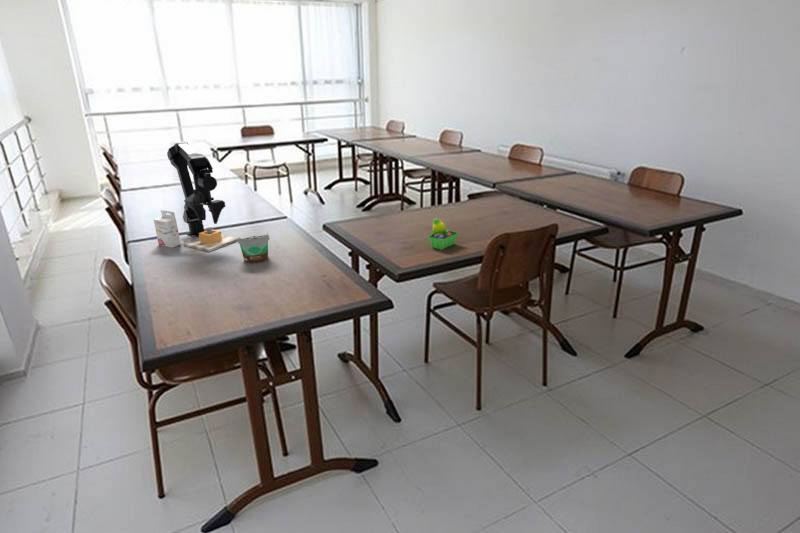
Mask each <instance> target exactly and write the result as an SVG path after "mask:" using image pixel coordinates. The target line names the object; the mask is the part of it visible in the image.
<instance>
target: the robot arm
mask: <svg viewBox="0 0 800 533" xmlns="http://www.w3.org/2000/svg"><path fill="white" fill-rule="evenodd" d="M166 155H167V158H168V160H169V161H170V164H171V165H172V166H173V167H174V168H175V169H176V171H177V174H178V179H179V181H180V184H181V189H182V193H183V195H184V201H183V202H184V206H183V209H184V210H183V214H182V219H183V222H184V223H186V224H187V225H188V231H189V232H187V233H186V235H189V236H193V237H197V236H199V233H201V232H204V231H205V228H204V222H203V221H206V218H207V215H206V214H207V211H206V209H205V207H204V206H207V207H208V211H209V212H210V213H211V216H212V221H213V223H214V225H217V224H218V221H219V219H220V215H221V213H222V210H223V209H224V208H225V207H226V202H225V201H224V200H221V199H215V198H214V197H212V193H211V192H212V191H214V190H215V189H216V188H217V187H218V182H217V181H218V180H217V179H216V178H215V177H213V176H212V175H211V174H212V173H214V172H213V166H212V164H211V162H210V160H209V159H208V157H206V156H205V155H204V154H203V153H197V152H196V151H195V150H194V149H193V148H192V147H191V146H190V144H189V143H188V142H187V141H181V142H179V141H178V142H175V143H174V145H173V146H171V147H169V148H168V149H167V153H166ZM190 173H191V174H192V177H193V182H194V185H193V182H192V179H191V175H190Z"/></svg>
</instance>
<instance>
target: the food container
mask: <svg viewBox="0 0 800 533" xmlns="http://www.w3.org/2000/svg"><path fill="white" fill-rule="evenodd" d="M237 238H238V241H237V244H238V245H239V247H240V249H241V254H242V257H243V261H244V262H245V263H248V264H258V263H262V262H266V261H267V260H268V259H269V240H270V238H271V237H270V235H269V234H268V232H267V233H266V234H264V235H263V234H262V235H253V236H248V237H246V238H240V237H237Z"/></svg>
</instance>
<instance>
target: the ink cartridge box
mask: <svg viewBox="0 0 800 533" xmlns="http://www.w3.org/2000/svg"><path fill="white" fill-rule="evenodd" d="M160 213H161V214H160V215H161V216H160V217H156V218H153V223H154V228H155V233H156V236H157V237H156V238H157V242H158V246H162V245H163V246H164V247H167V246H168V247H167V248H174V247H177V246H180V245H181V244H182V243H181V238H180V232H179V227H178V222H177V218H176V214H175V212H174V211H170V210H169V211H168V210H162V209H161V210H160Z"/></svg>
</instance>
